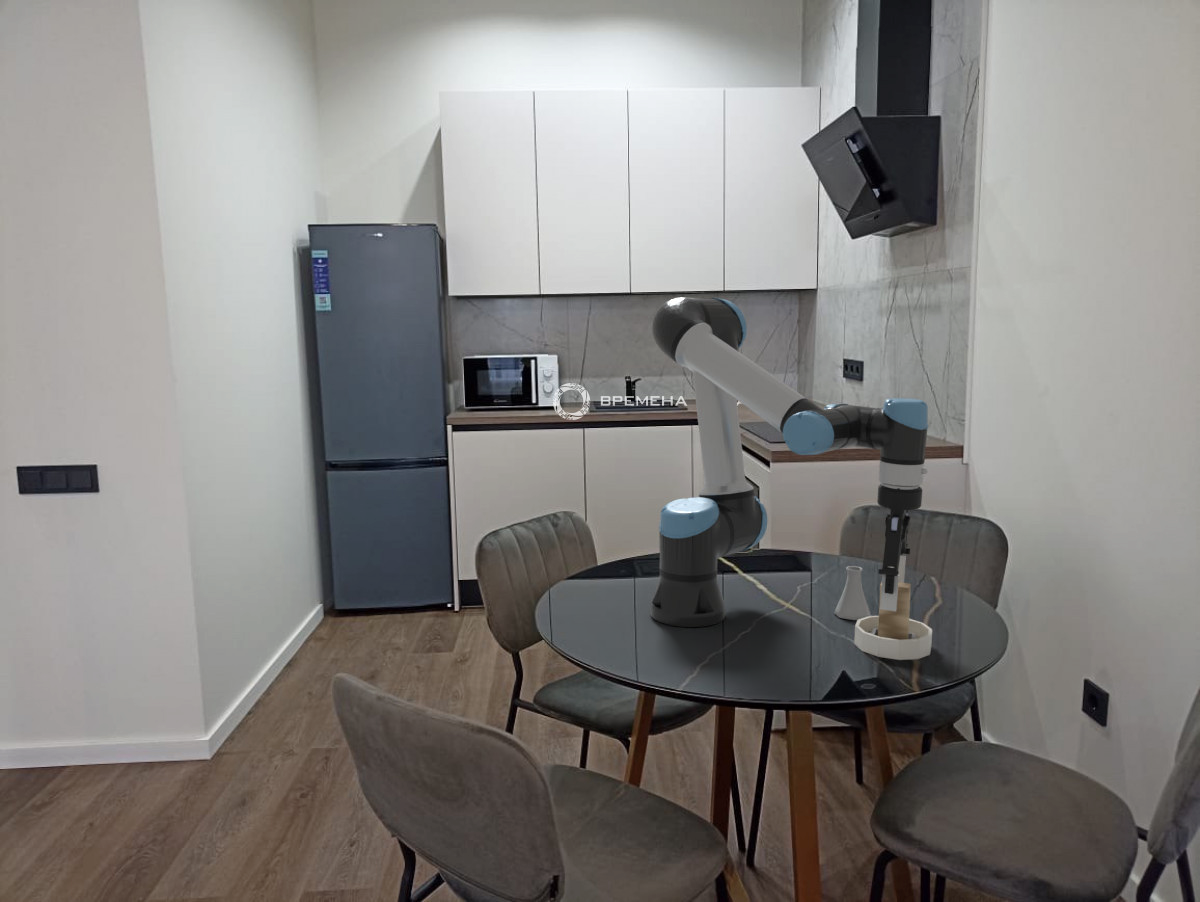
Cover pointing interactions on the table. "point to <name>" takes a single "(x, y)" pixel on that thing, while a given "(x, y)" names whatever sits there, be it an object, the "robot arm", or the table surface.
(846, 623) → the table surface
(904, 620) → the wooden block
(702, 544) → the robot arm
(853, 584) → the flask
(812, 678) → the table surface
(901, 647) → the white round dish
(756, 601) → the table surface
